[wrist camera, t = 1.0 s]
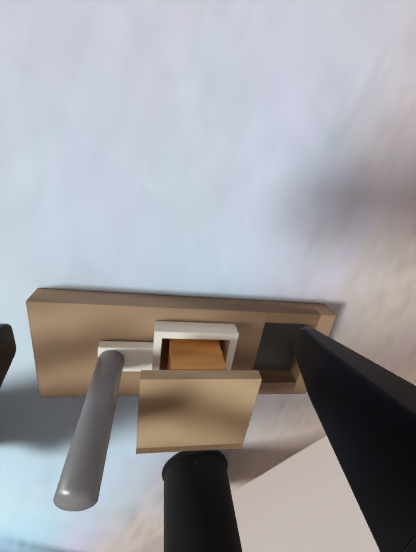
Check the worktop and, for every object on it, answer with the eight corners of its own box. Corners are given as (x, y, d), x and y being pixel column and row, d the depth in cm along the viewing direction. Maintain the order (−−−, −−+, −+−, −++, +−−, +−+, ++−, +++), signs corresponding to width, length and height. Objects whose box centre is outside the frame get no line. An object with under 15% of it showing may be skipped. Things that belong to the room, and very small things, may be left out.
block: (210, 370, 25) (218, 408, 21) (166, 370, 24) (166, 409, 21) (217, 335, 23) (226, 369, 20) (170, 334, 22) (171, 369, 19)
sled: (222, 382, 26) (255, 517, 16) (100, 382, 24) (59, 537, 14) (234, 323, 23) (282, 445, 14) (99, 318, 21) (46, 457, 12)
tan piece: (297, 378, 30) (336, 446, 23) (49, 379, 25) (6, 465, 18) (324, 304, 26) (381, 359, 19) (37, 288, 21) (-23, 354, 14)
